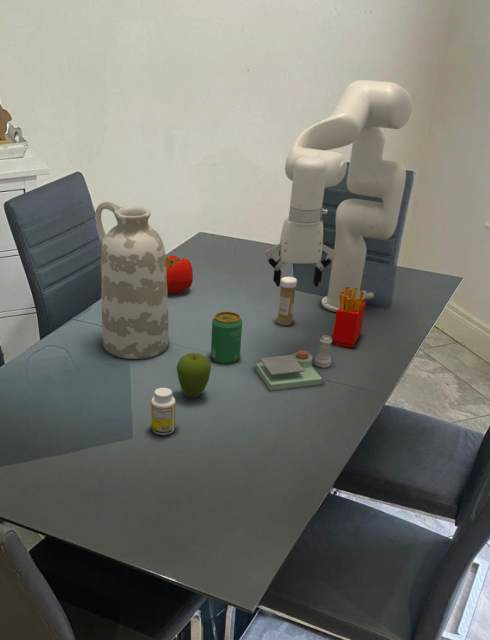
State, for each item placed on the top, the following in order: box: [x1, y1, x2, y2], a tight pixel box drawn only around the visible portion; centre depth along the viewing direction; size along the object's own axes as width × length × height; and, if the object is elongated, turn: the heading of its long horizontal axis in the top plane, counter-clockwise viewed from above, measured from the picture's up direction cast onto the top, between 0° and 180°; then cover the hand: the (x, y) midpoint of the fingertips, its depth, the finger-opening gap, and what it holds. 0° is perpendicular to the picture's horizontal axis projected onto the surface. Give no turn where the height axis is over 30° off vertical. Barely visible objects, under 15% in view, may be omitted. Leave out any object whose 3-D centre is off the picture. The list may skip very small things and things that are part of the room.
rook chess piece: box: [314, 334, 332, 369], centre depth 198 cm, size 4×4×8 cm
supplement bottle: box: [150, 387, 176, 436], centre depth 171 cm, size 6×6×10 cm
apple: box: [176, 352, 212, 399], centre depth 184 cm, size 9×8×12 cm
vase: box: [94, 201, 170, 360], centre depth 198 cm, size 20×19×38 cm
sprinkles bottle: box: [276, 276, 298, 326], centre depth 217 cm, size 5×5×13 cm
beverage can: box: [210, 311, 243, 365], centre depth 200 cm, size 8×8×12 cm
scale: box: [254, 351, 323, 391], centre depth 194 cm, size 15×12×4 cm
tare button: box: [297, 349, 309, 360], centre depth 196 cm, size 3×3×2 cm
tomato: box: [165, 254, 194, 295], centre depth 238 cm, size 14×13×10 cm
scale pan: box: [259, 354, 305, 375], centre depth 192 cm, size 9×9×1 cm
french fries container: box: [331, 286, 367, 348], centre depth 208 cm, size 7×9×14 cm
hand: (296, 284), depth 186 cm, fingers open, 9 cm apart
